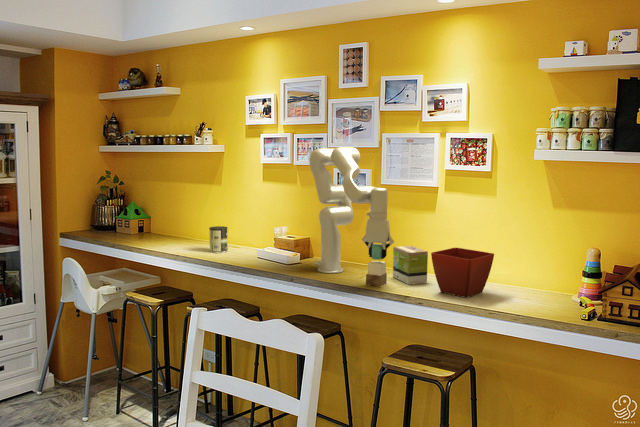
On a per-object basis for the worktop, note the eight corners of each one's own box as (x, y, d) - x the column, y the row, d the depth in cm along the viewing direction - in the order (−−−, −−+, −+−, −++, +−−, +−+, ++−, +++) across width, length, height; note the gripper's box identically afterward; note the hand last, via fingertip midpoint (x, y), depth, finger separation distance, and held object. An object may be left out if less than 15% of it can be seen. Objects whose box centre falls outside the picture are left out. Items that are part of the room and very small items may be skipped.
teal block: (369, 258, 241) (370, 245, 240) (373, 257, 246) (374, 243, 245) (381, 260, 239) (381, 246, 238) (384, 258, 244) (385, 244, 243)
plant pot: (468, 301, 218) (470, 259, 216) (428, 292, 231) (429, 252, 229) (493, 293, 231) (495, 253, 229) (454, 284, 244) (455, 247, 243)
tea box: (391, 277, 258) (392, 246, 256) (410, 276, 261) (411, 245, 259) (408, 284, 244) (408, 251, 242) (427, 283, 247) (428, 250, 246)
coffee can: (225, 249, 326) (225, 225, 324) (229, 252, 316) (229, 228, 315) (208, 250, 322) (207, 226, 320) (211, 253, 312) (211, 228, 311)
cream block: (367, 274, 242) (368, 262, 241) (373, 271, 247) (373, 260, 246) (380, 275, 239) (380, 264, 238) (385, 273, 244) (386, 262, 244)
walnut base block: (365, 285, 242) (366, 274, 242) (371, 282, 248) (371, 271, 248) (380, 287, 239) (381, 276, 238) (386, 284, 245) (386, 273, 245)
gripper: (356, 215, 241) (356, 256, 243) (394, 218, 233) (393, 260, 235) (363, 214, 247) (362, 254, 249) (399, 216, 240) (398, 257, 242)
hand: (377, 256), depth 242 cm, fingers closed on teal block, 5 cm apart
